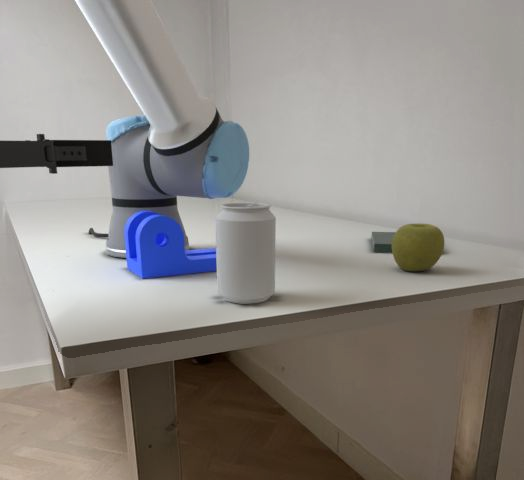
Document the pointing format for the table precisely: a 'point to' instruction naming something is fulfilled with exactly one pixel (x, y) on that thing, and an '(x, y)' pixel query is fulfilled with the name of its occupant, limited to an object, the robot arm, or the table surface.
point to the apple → (417, 246)
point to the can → (245, 252)
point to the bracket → (162, 248)
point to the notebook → (382, 241)
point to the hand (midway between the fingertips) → (109, 153)
